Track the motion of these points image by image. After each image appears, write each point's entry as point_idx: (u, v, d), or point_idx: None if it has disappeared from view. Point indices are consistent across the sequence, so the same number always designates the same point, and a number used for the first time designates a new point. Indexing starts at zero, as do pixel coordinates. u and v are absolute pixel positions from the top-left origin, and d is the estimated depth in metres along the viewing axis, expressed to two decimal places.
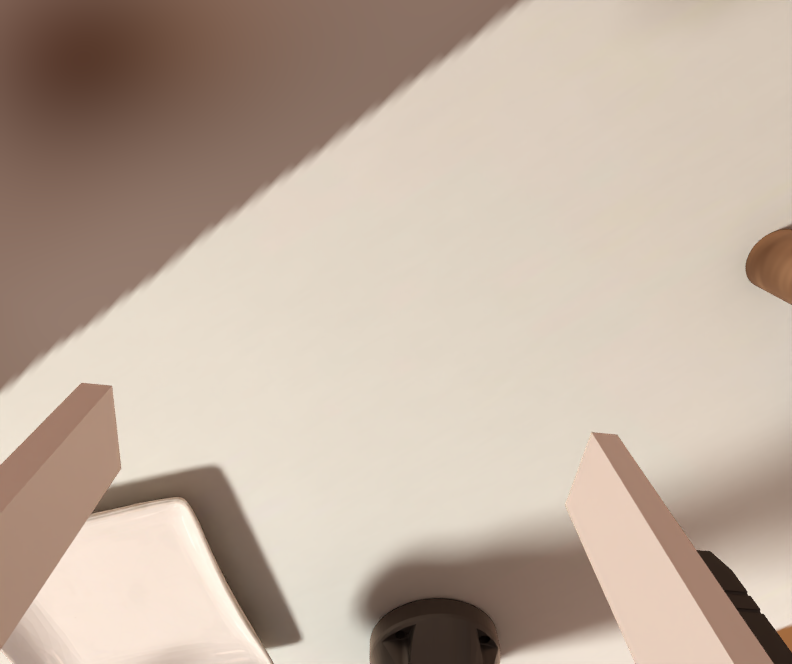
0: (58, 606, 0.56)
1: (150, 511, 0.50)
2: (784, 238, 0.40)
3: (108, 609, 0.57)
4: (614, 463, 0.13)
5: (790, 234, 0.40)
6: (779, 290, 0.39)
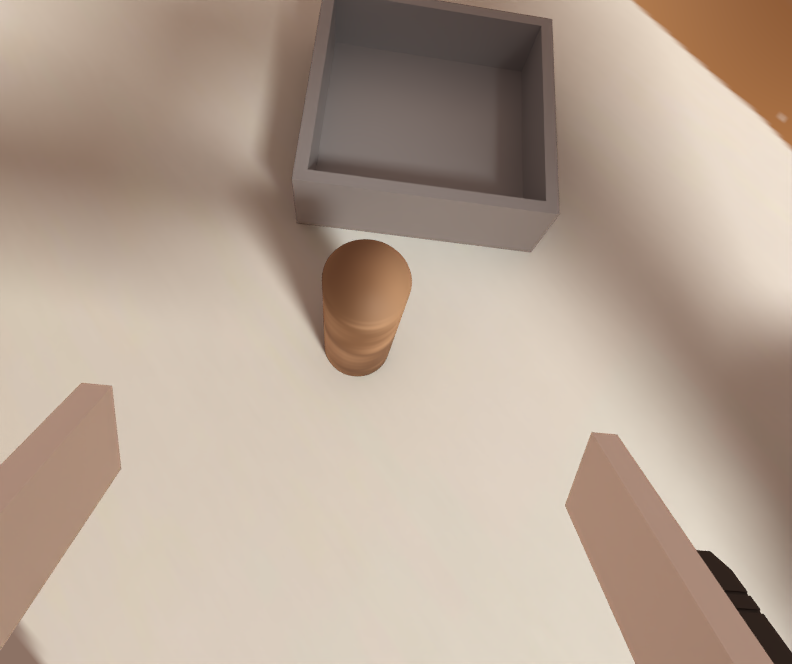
0: None
1: None
2: (329, 354, 0.38)
3: None
4: (614, 463, 0.13)
5: (325, 348, 0.38)
6: (378, 357, 0.36)
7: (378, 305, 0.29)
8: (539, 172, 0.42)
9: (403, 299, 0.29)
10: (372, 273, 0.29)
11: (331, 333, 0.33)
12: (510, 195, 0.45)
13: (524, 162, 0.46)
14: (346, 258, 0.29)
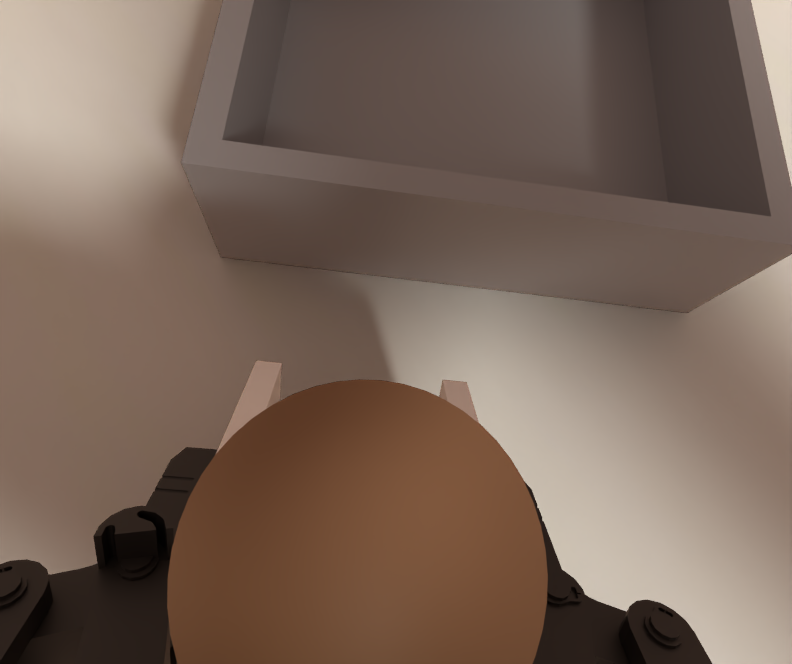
0: None
1: None
2: None
3: None
4: (451, 403, 0.15)
5: None
6: None
7: None
8: (728, 154, 0.20)
9: (521, 658, 0.07)
10: (389, 536, 0.07)
11: None
12: None
13: (666, 137, 0.24)
14: (279, 467, 0.07)
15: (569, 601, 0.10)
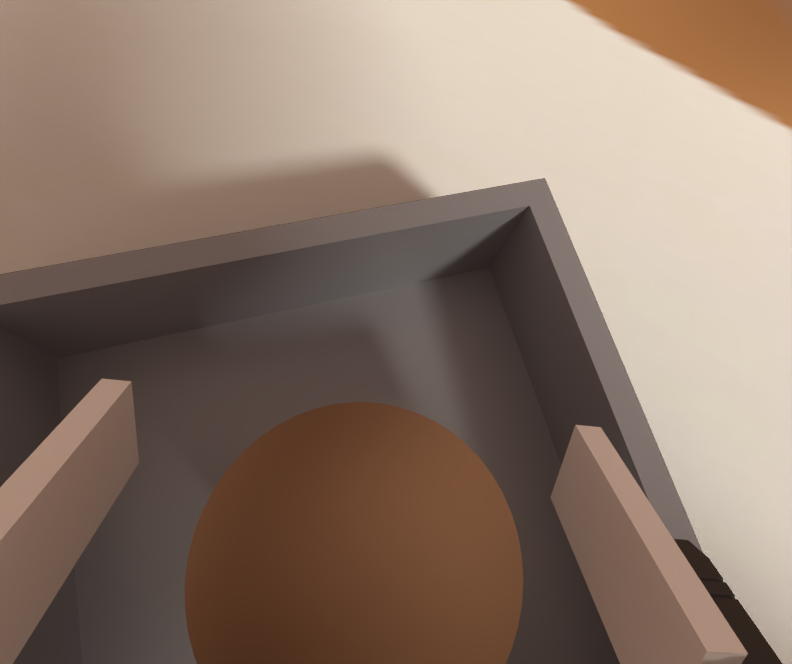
0: None
1: None
2: None
3: None
4: (596, 454, 0.14)
5: None
6: None
7: None
8: None
9: (498, 653, 0.08)
10: (382, 543, 0.08)
11: None
12: (585, 615, 0.19)
13: None
14: (284, 482, 0.08)
15: None
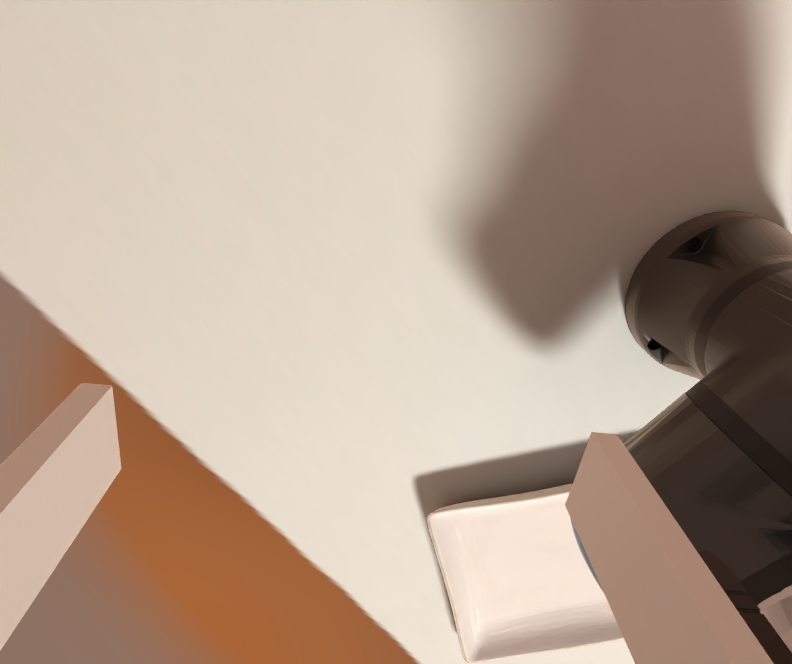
0: (557, 598, 0.66)
1: (451, 531, 0.59)
2: None
3: (569, 569, 0.63)
4: (614, 463, 0.13)
5: None
6: None
7: None
8: None
9: None
10: None
11: None
12: None
13: None
14: None
15: None
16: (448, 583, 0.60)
